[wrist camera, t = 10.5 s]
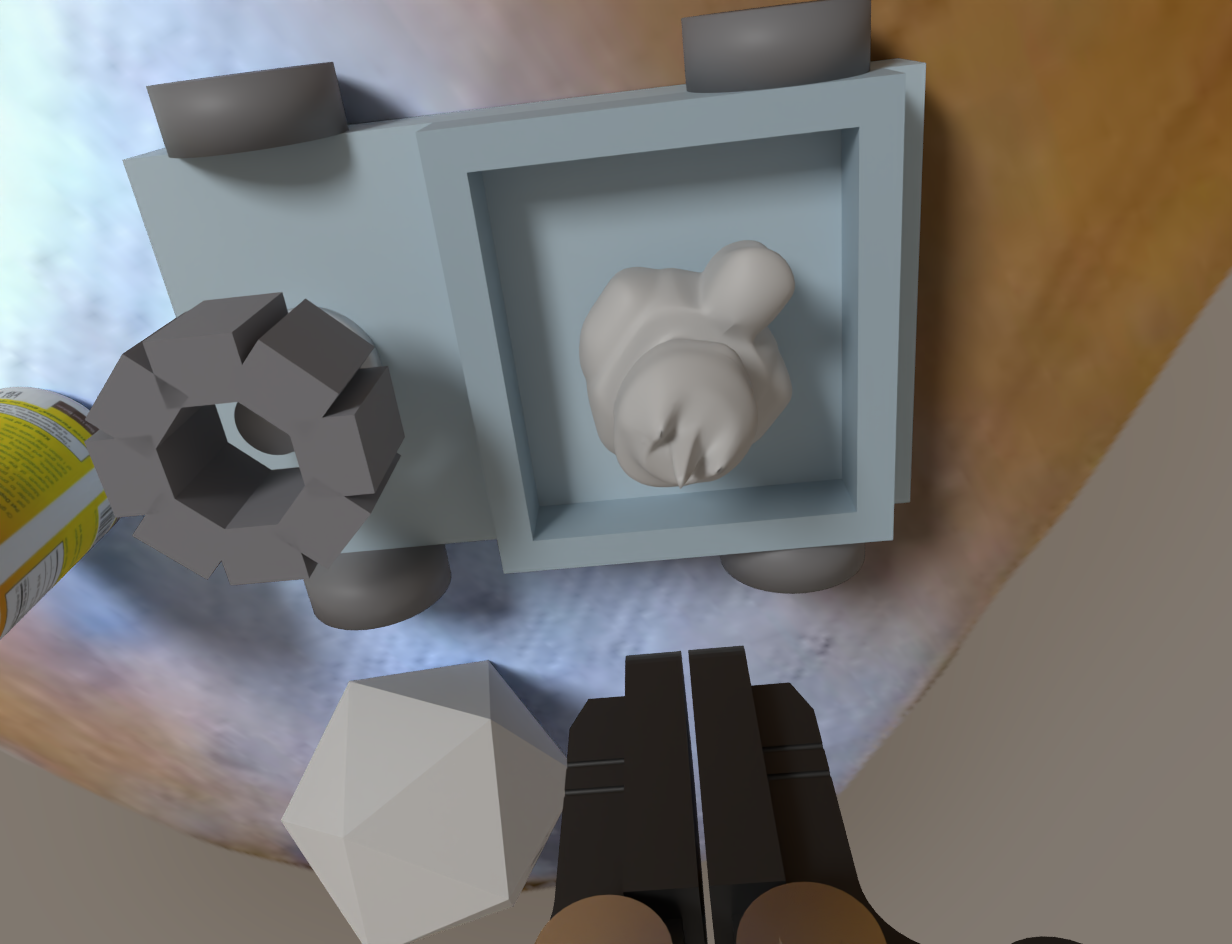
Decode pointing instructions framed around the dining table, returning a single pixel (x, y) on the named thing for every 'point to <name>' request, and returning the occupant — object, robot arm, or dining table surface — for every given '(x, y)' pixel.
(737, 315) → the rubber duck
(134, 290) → the dining table surface
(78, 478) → the supplement bottle
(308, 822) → the die
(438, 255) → the chassis
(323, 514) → the spare wheel
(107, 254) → the dining table surface
